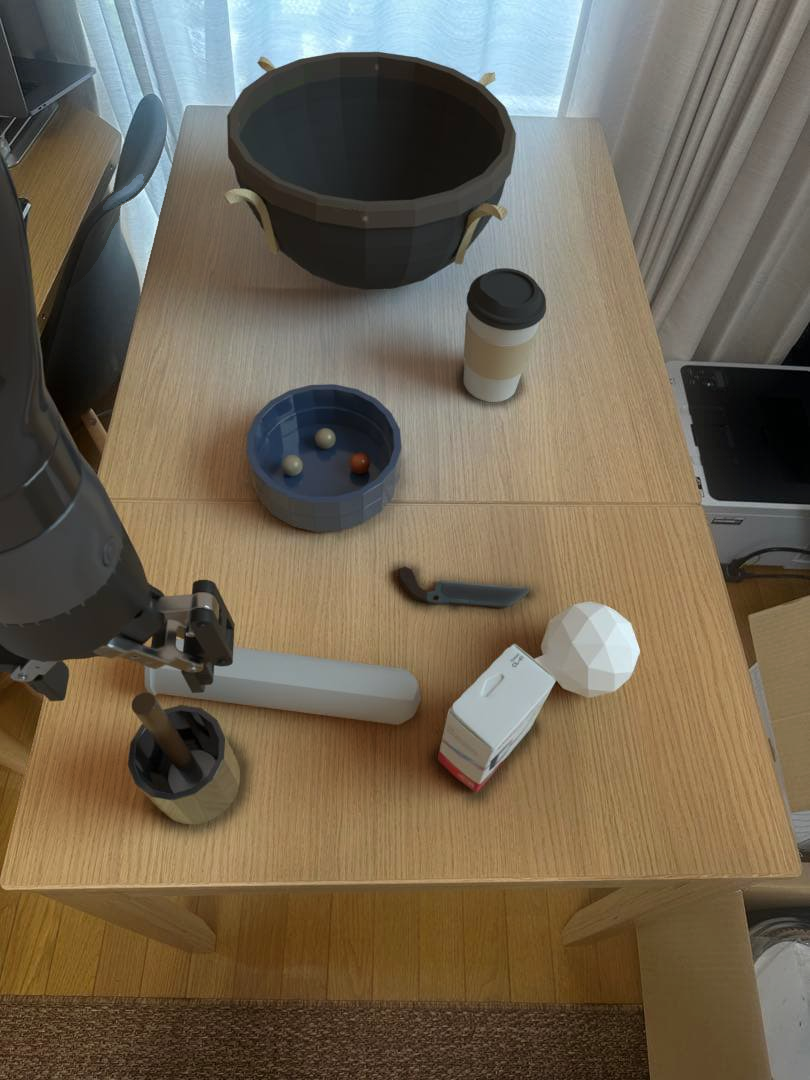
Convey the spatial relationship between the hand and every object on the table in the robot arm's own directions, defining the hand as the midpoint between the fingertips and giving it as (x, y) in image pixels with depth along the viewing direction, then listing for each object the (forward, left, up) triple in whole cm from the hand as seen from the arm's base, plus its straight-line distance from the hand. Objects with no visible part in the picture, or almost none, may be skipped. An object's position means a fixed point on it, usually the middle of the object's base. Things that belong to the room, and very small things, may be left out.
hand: (131, 682), depth 47 cm
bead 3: (+16, +34, -21) cm, 43 cm away
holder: (0, 0, -23) cm, 23 cm away
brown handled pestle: (0, 0, -22) cm, 22 cm away
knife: (+26, +18, -23) cm, 39 cm away
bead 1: (+8, +34, -21) cm, 41 cm away
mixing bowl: (+12, +34, -23) cm, 43 cm away
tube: (+8, +8, -23) cm, 26 cm away
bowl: (+19, +72, -23) cm, 78 cm away
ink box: (+26, +2, -23) cm, 35 cm away
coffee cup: (+33, +48, -23) cm, 63 cm away
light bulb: (+35, +9, -23) cm, 43 cm away
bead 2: (+12, +38, -21) cm, 45 cm away
